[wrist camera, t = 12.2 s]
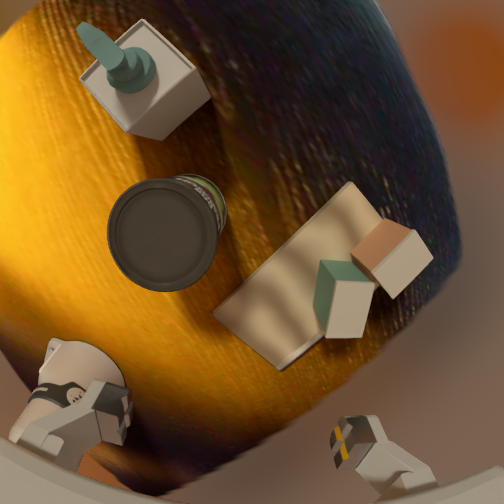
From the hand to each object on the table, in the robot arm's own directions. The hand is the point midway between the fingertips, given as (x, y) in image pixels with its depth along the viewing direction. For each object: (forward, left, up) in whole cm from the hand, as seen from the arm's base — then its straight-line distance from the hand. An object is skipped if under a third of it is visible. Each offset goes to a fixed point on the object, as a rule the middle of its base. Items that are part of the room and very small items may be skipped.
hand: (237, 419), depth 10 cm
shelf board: (+2, -11, -31) cm, 33 cm away
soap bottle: (+6, +20, -31) cm, 38 cm away
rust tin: (+12, -14, -30) cm, 35 cm away
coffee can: (-3, +7, -31) cm, 32 cm away
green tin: (+4, -13, -30) cm, 33 cm away
